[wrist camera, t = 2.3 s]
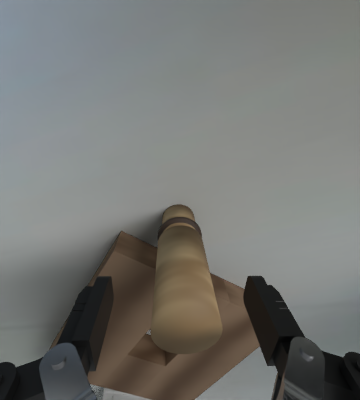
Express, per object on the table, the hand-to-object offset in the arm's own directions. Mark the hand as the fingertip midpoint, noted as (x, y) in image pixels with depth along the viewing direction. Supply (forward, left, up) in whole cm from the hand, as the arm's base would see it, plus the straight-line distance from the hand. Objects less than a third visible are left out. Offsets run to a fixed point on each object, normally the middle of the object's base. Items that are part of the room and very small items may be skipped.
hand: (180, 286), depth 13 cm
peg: (0, 0, -8) cm, 8 cm away
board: (-6, +14, -8) cm, 18 cm away
